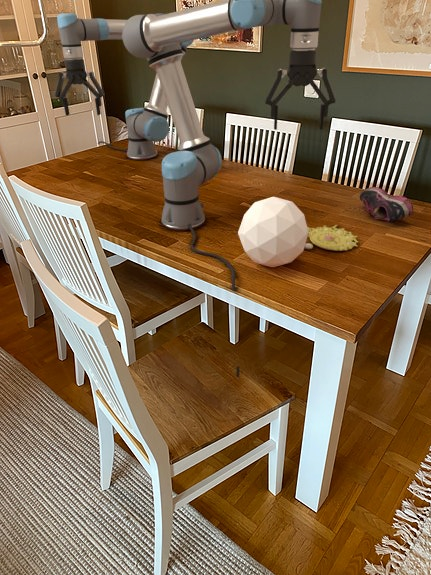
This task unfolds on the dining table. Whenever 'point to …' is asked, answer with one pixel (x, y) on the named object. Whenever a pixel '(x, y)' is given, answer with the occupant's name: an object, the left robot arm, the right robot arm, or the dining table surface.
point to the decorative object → (331, 238)
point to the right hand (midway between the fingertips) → (297, 128)
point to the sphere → (273, 232)
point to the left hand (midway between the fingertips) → (83, 114)
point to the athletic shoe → (385, 204)
